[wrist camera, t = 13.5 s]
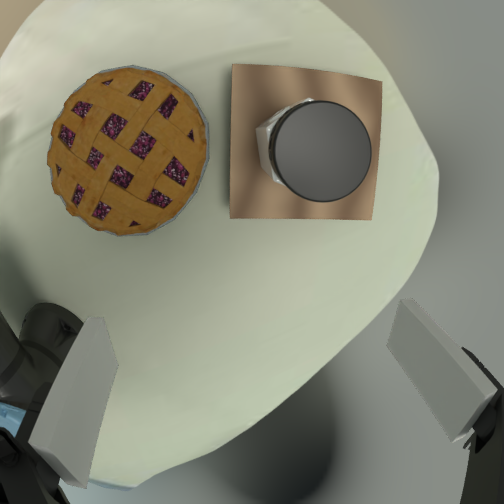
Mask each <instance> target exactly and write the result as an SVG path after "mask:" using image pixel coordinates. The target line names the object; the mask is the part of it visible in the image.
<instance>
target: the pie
mask: <svg viewBox="0 0 504 504" xmlns="http://www.w3.org/2000/svg"><path fill="white" fill-rule="evenodd" d="M51 136H52V138H51V142H50V146H49V151H48V156H47V165H48V166H49V167H50V173H51V181H52V183H51V184H52V187H53V190H54V193H55V194H57V195H59V196H60V198H61V199H62V201H63V203H64V205H65V206H66V210H67V211H68V212H69V213H70V214H71V215H72V216H77V217H79V218H80V219H81V220H82V221H83V222H85V223H86V224H87V225H88V226H89V227H91V228H93V229H95V230H97V231H104V232H107V233H110V234H113V235H115V236H133V235H148V234H150V233H152V232H153V231H155V230H157V229H159V228H160V227H162V226H164V225H166V224H168V223H169V222H171V221H173V220H175V219H176V217H177V216H178V215H179V214H180V212H181V211H182V210H183V209H184V207H185V206H186V205H187V204H188V203H189V201H190V200H191V199H192V198H193V196H194V195H195V194H196V193H197V190H198V188H199V185H200V182H201V179H202V177H203V174H204V171H205V169H206V166H207V163H208V161H209V127H208V122H207V120H206V118H205V117H204V115H203V113H202V111H201V109H200V107H199V105H198V104H197V102H196V100H195V98H194V96H193V94H192V93H191V92H189V91H188V90H187V89H185V88H184V87H183V86H181V85H180V84H179V83H177V82H176V81H175V80H173V79H172V78H171V77H169V76H168V75H167V74H165V73H163V72H159V71H155V70H151V69H147V68H143V67H139V66H134V65H130V66H124V67H118V68H113V69H108V70H103V71H100V72H99V73H97V74H95V75H94V76H92V77H91V78H89V79H88V80H87V81H86V82H85V83H84V84H82V85H81V86H80V87H79V88H77V89H76V90H75V91H74V92H73V94H71V95H70V97H69V98H68V99H67V101H66V102H65V103H64V108H63V109H62V111H61V112H60V114H59V116H58V117H57V119H56V121H55V122H54V124H53V127H52V131H51Z"/></svg>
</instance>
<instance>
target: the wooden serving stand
mask: <svg viewBox="0 0 504 504" xmlns="http://www.w3.org/2000/svg"><path fill="white" fill-rule="evenodd" d="M306 98H311V99H314V100H326V101H332V102H336V103H338V104H341V105H343V106H345V107H347V108H348V109H350V110H351V111H352V112H354V113H355V114H356V115H357V116H358V117H359V118H360V120H361V121H362V122H363V124H364V125H365V127H366V129H367V131H368V134H369V137H370V141H371V146H372V158H371V164H370V167H369V171H368V173H367V175H366V177H365V179H364V180H363V182H362V183H361V184H360V186H359V187H358V188H357V189H356V190H355V191H354V192H352V193H351V194H350V195H348V196H346V197H344V198H342V199H340V200H337V201H333V202H327V203H320V202H312V201H309V200H306V199H303V198H301V197H299V196H297V195H296V194H294V193H293V192H292V191H290V190H289V189H288V188H287V187H286V186H284V185H282V184H279V183H277V182H274V181H273V180H272V179H271V177H270V176H269V175H268V174H267V173H266V172H265V171H264V170H263V169H262V168H261V164H260V157H259V150H258V143H257V136H256V128H257V127H258V126H259V125H261V124H262V123H263V122H265V121H266V120H267V119H269V118H270V117H271V116H273V115H274V114H276V113H277V112H278V111H280V110H281V109H283V108H284V107H285V106H287V105H290V104H292V103H295V102H298V101H301V100H304V99H306ZM381 113H382V82H381V81H377V80H372V79H368V78H363V77H358V76H352V75H347V74H341V73H334V72H328V71H321V70H313V69H305V68H295V67H285V66H271V65H252V64H232V89H231V134H230V219H234V218H270V219H340V220H372V213H373V206H374V198H375V189H376V180H377V170H378V160H379V147H380V132H381Z"/></svg>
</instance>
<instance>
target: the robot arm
mask: <svg viewBox="0 0 504 504" xmlns="http://www.w3.org/2000/svg"><path fill="white" fill-rule="evenodd" d="M387 347H388V349H389V350H390V352H391V353H392V354H393V356H394V357H395V358H396V360H397V361H398V363H399V364H400V366H401V367H402V369H403V370H404V371H405V373H406V374H407V376H408V377H409V378H410V380H411V382H412V383H413V385H414V386H415V387H416V389H417V390H418V392H419V393H420V395H421V396H422V398H423V399H424V401H425V402H426V404H427V405H428V407H429V408H430V410H431V411H432V413H433V415H434V416H435V418H436V419H437V421H438V422H439V424H440V425H441V427H442V428H443V430H444V431H445V433H446V435H447V436H448V438H449V439H450V441H451V442H452V443H453V442H455V441H457V440H458V439H461V438H462V437H464V436H465V435H466V434H467V433H468V432H469V430H470V429H471V428H473V429H474V430H475V432H474V433H473V434H472V435H471V437H470V438H469V439H468V440H467V442H466V443H465V444H464V446H463V448H464V449H465V448H466V447H467V446H468V444H469V443H470V442H471V446H470V447H469V450H470V454H469V461H468V466H467V472H466V478H465V483H464V488H463V492H462V497H461V501H460V504H504V388H503V387H502V386H501V385H500V383H499V382H498V381H497V380H496V379H495V378H494V376H493V375H492V374H491V373H490V372H489V371H488V370H487V369H486V368H484V365H483V364H482V363H481V362H479V360H478V359H477V358H476V357H475V356H474V354H473V353H471V352H470V351H468V350H467V349H465V348H464V347H462V348H460V346H459V345H458V344H457V343H456V342H455V341H454V340H453V339H452V338H451V337H450V336H449V335H448V334H447V333H446V332H445V331H444V330H443V329H442V328H441V327H440V326H439V325H438V323H437V322H436V321H435V320H434V319H433V318H432V317H431V316H430V315H429V314H428V313H427V312H426V311H425V310H424V309H423V308H422V307H420V305H419V304H418V303H417V302H416V301H415V300H414V299H413V298H410V299H403V300H400V301H399V304H398V308H397V312H396V316H395V319H394V323H393V326H392V329H391V333H390V336H389V339H388V343H387ZM117 369H118V363H117V360H116V357H115V353H114V350H113V347H112V344H111V341H110V338H109V334H108V331H107V327H106V324H105V320H104V317H88V318H87V319H86V321H85V323H84V324H83V323H82V322H81V321H80V320H79V319H78V318H77V317H76V316H75V315H73V314H72V313H71V312H69V311H68V310H66V309H64V308H62V307H60V306H58V305H55V304H51V303H41V304H37V305H35V306H34V307H33V308H32V309H31V310H30V311H29V312H28V313H27V315H26V316H25V318H24V321H23V324H22V329H21V332H20V335H19V339H18V338H17V337H16V335H15V334H14V332H13V331H12V329H11V328H10V326H9V324H8V323H7V321H6V319H5V318H4V316H3V315H2V313H1V311H0V504H70V503H69V501H68V499H67V498H66V496H65V494H64V492H63V490H62V488H61V487H60V486H59V485H58V484H59V480H60V478H61V479H62V480H63V481H64V482H66V483H67V484H68V485H72V486H76V487H81V488H85V489H86V488H87V483H88V478H89V474H90V469H91V464H92V460H93V456H94V451H95V447H96V443H97V439H98V435H99V431H100V427H101V423H102V420H103V416H104V412H105V409H106V405H107V402H108V398H109V395H110V391H111V388H112V385H113V381H114V378H115V375H116V372H117Z"/></svg>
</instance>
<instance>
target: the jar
mask: <svg viewBox="0 0 504 504" xmlns="http://www.w3.org/2000/svg"><path fill="white" fill-rule="evenodd" d="M256 136H257V143H258V150H259V157H260V164H261V168H262V169H263V170H264V171H265V172H266V173H267V174H268V175H269V176H270V177H271V179H272V180H273V181H274V182H277V183H279V184H282V185H284V186H286V187H287V188H288V189H289V190H290V191H292V192H293V193H294V194H296V195H297V196H299V197H301V198H303V199H306V200H309V201H312V202H320V203H327V202H333V201H337V200H340V199H342V198H344V197H346V196H348V195H350V194H351V193H352V192H354V191H355V190H356V189H357V188H358V187H359V186H360V184H361V183H362V182H363V180H364V179H365V177H366V175H367V173H368V171H369V167H370V164H371V158H372V146H371V141H370V137H369V134H368V131H367V129H366V127H365V125H364V124H363V122H362V121H361V120H360V118H359V117H358V116H357V115H356V114H355V113H354V112H352V111H351V110H350V109H348V108H347V107H345V106H343V105H341V104H338V103H336V102H332V101H326V100H314V99H311V98H306V99H304V100H301V101H298V102H295V103H292V104H290V105H287V106H285V107H284V108H283V109H281V110H280V111H278V112H277V113H276V114H274V115H273V116H271V117H270V118H269V119H267V120H266V121H265V122H263V123H262V124H261V125H259V126H258V127H257V128H256Z"/></svg>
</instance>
